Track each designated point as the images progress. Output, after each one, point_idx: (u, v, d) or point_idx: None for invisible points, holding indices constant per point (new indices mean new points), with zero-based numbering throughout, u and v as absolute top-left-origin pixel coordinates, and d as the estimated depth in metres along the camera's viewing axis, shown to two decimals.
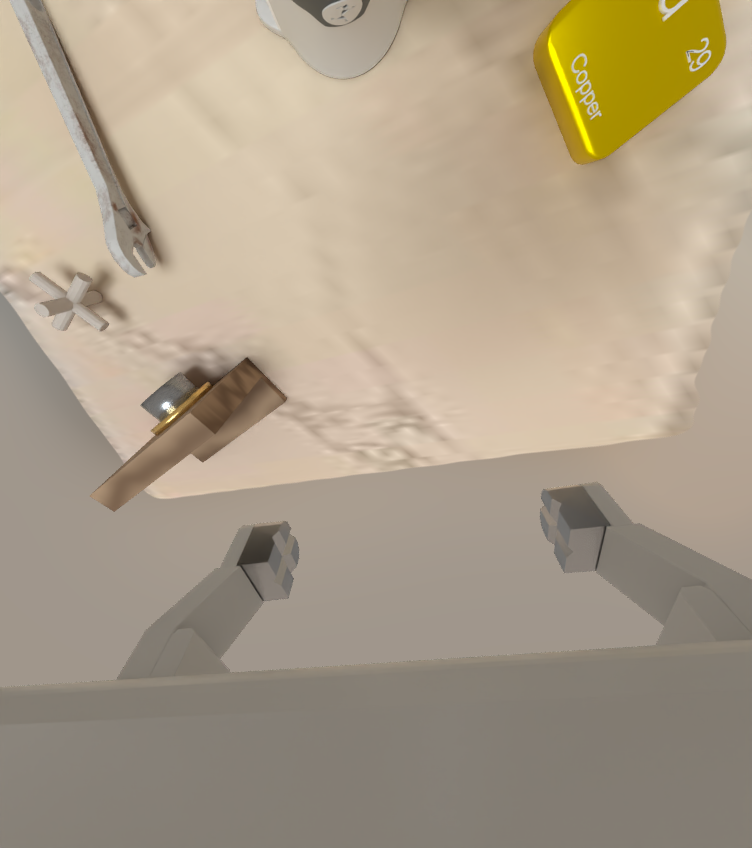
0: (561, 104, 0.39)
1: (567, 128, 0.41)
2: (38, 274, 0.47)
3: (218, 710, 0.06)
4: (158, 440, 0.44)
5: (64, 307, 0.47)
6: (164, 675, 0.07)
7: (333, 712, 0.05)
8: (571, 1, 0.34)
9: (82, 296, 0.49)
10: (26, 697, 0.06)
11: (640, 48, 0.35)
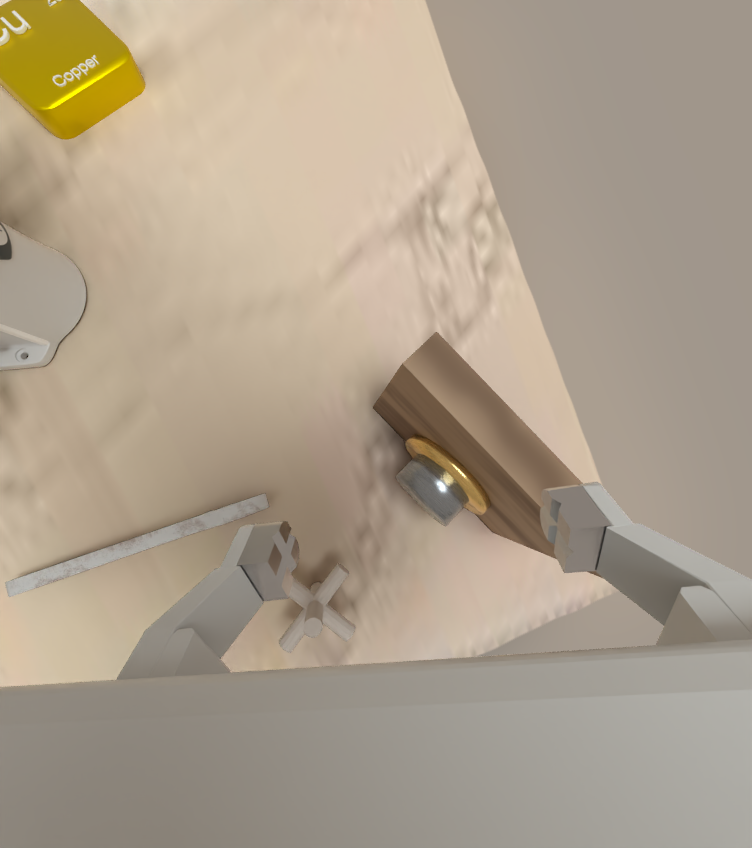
0: (93, 96, 0.44)
1: (113, 93, 0.45)
2: (281, 638, 0.36)
3: (218, 710, 0.06)
4: (464, 424, 0.26)
5: (314, 606, 0.35)
6: (164, 675, 0.07)
7: (333, 712, 0.05)
8: (20, 96, 0.41)
9: (304, 587, 0.37)
10: (26, 697, 0.06)
11: (48, 39, 0.42)
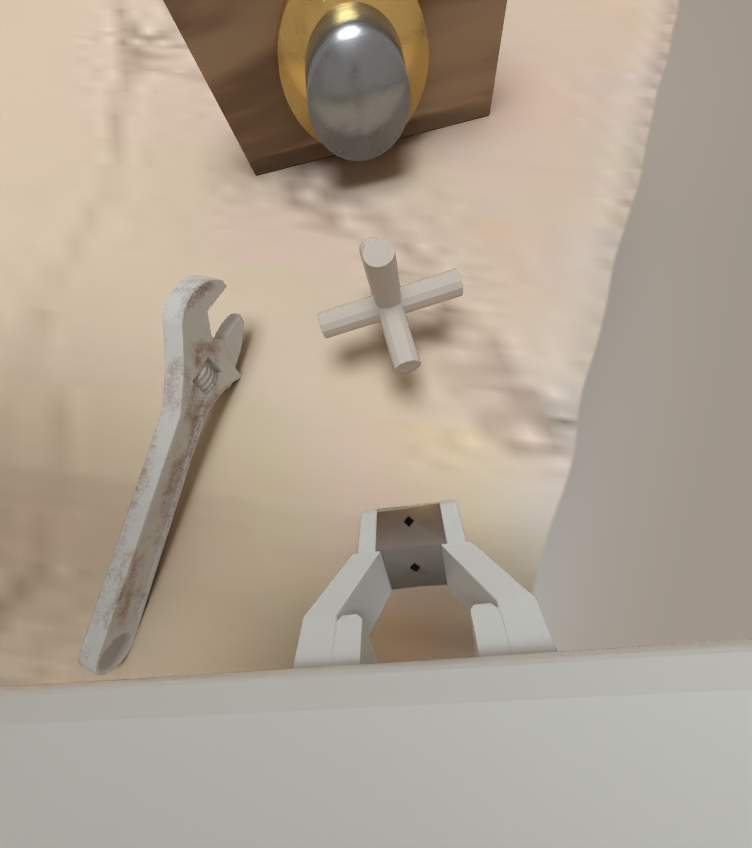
0: None
1: None
2: (393, 363, 0.22)
3: (218, 710, 0.06)
4: None
5: None
6: (348, 663, 0.07)
7: (333, 712, 0.05)
8: None
9: None
10: (26, 697, 0.06)
11: None
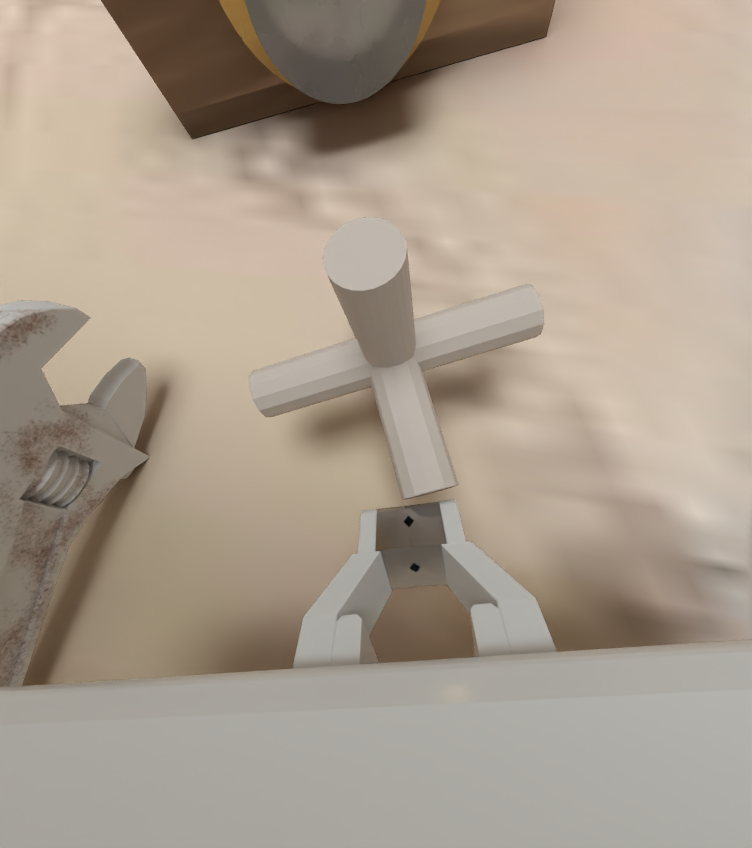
0: None
1: None
2: (399, 485, 0.10)
3: (218, 710, 0.06)
4: None
5: None
6: (347, 663, 0.07)
7: (333, 712, 0.05)
8: None
9: None
10: (26, 697, 0.06)
11: None
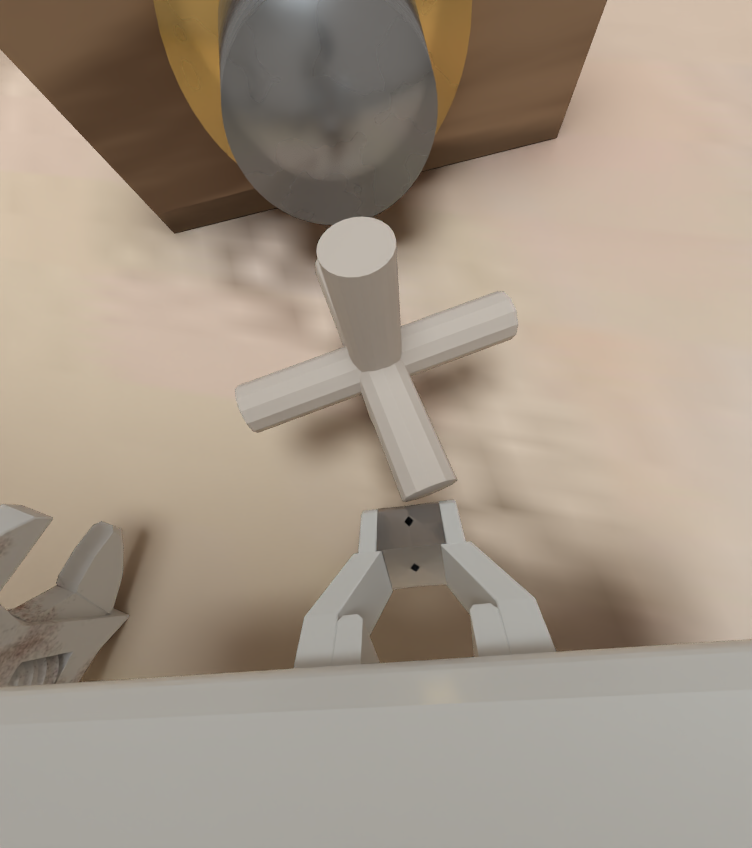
0: None
1: None
2: (399, 485, 0.10)
3: (218, 710, 0.06)
4: None
5: None
6: (348, 663, 0.07)
7: (333, 712, 0.05)
8: None
9: None
10: (26, 697, 0.06)
11: None
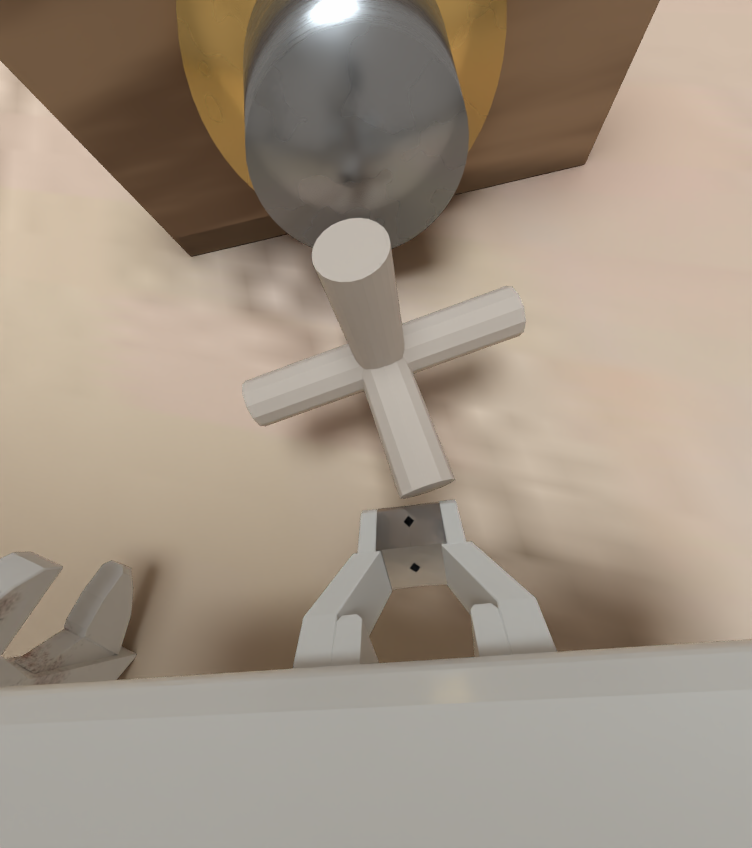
0: None
1: None
2: (396, 483, 0.10)
3: (218, 710, 0.06)
4: None
5: None
6: (348, 663, 0.07)
7: (333, 712, 0.05)
8: None
9: None
10: (27, 697, 0.06)
11: None
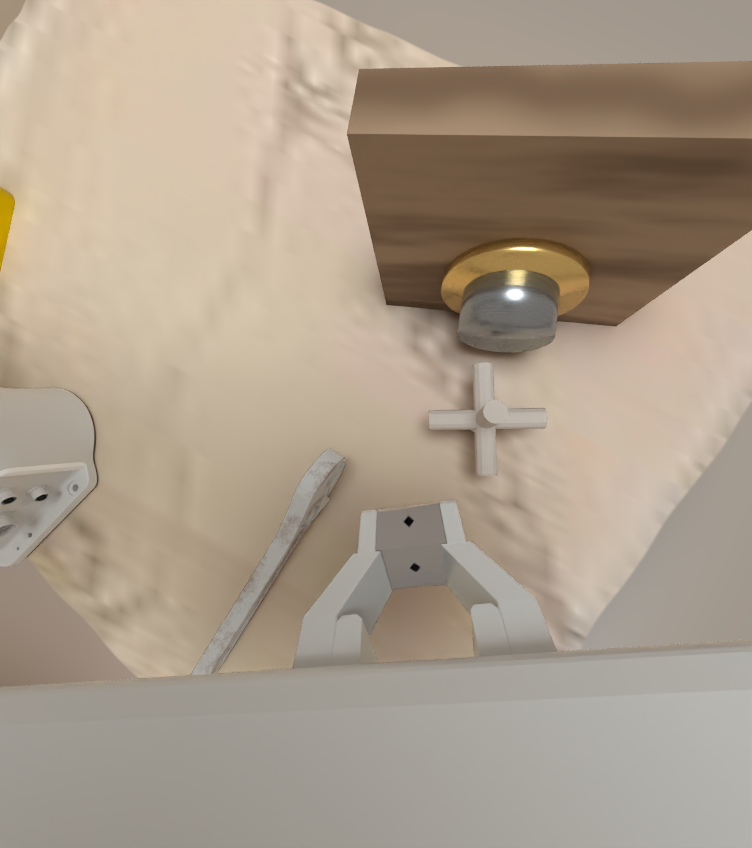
0: None
1: None
2: (476, 470, 0.29)
3: (218, 710, 0.06)
4: (476, 132, 0.17)
5: (482, 407, 0.28)
6: (348, 663, 0.07)
7: (333, 712, 0.05)
8: None
9: (459, 410, 0.30)
10: (26, 696, 0.06)
11: None
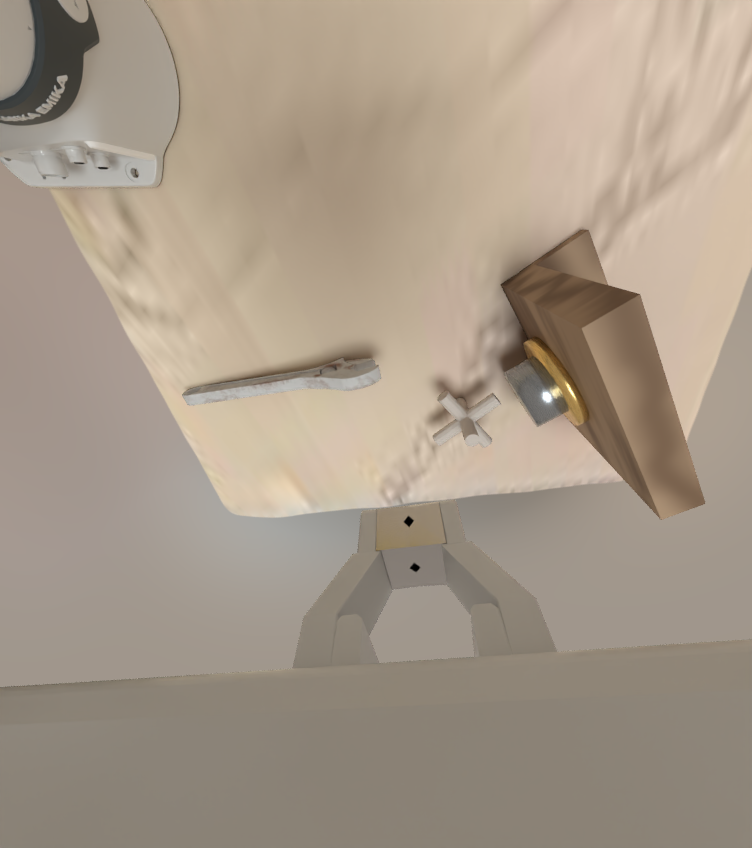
0: None
1: None
2: (435, 435, 0.47)
3: (218, 710, 0.06)
4: (612, 396, 0.27)
5: (470, 423, 0.43)
6: (348, 663, 0.07)
7: (333, 712, 0.05)
8: None
9: (461, 406, 0.44)
10: (26, 697, 0.06)
11: None
